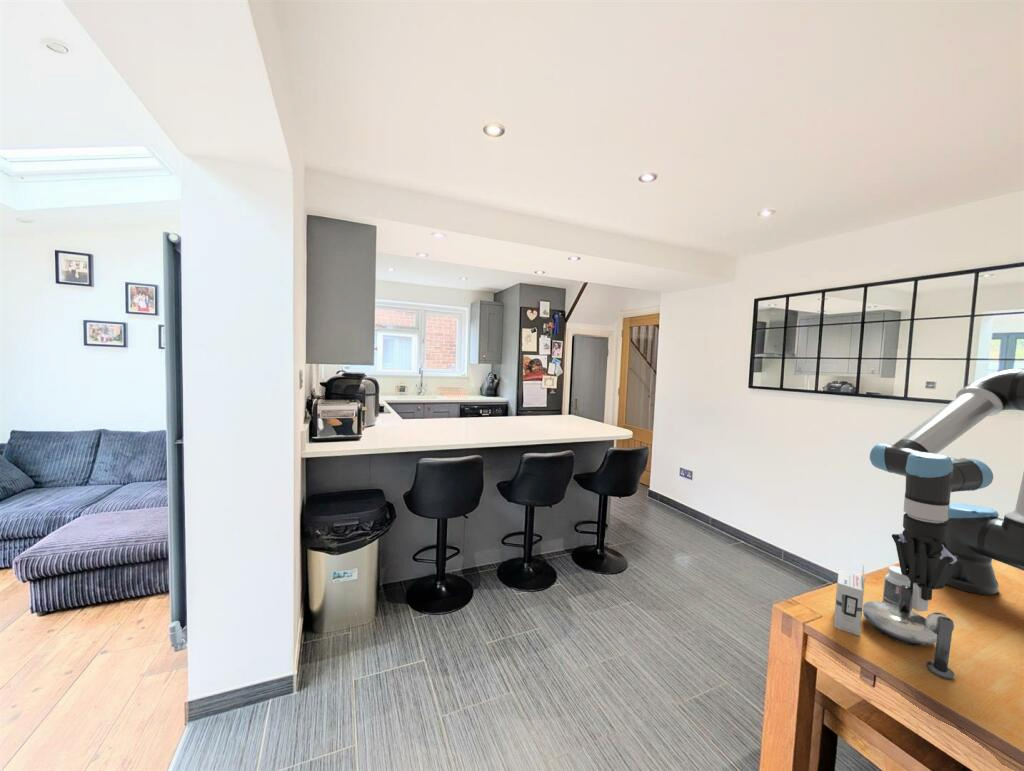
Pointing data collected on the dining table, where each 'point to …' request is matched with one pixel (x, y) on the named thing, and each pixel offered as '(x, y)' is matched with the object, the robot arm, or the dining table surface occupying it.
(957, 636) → the dining table surface
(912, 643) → the turntable base
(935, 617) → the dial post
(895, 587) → the pill bottle
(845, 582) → the ink box
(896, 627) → the silver round piece
